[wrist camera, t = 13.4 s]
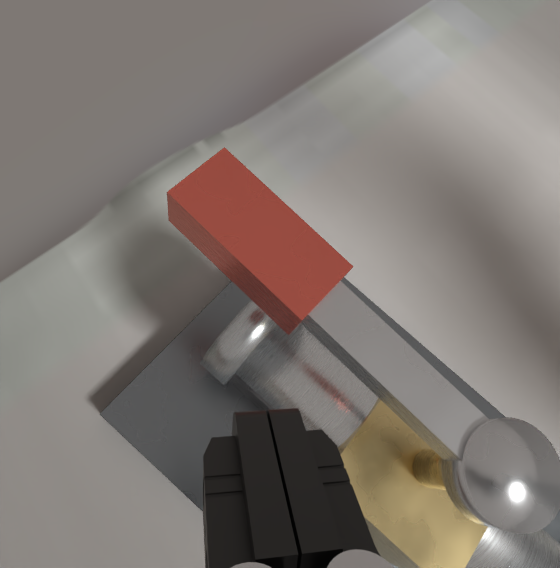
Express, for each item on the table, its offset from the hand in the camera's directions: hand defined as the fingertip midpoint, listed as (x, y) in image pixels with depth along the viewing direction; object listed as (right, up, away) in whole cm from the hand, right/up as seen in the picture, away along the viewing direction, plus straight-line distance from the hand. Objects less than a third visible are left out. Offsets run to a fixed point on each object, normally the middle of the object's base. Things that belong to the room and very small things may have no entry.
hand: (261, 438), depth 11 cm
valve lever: (+3, +1, +7) cm, 8 cm away
